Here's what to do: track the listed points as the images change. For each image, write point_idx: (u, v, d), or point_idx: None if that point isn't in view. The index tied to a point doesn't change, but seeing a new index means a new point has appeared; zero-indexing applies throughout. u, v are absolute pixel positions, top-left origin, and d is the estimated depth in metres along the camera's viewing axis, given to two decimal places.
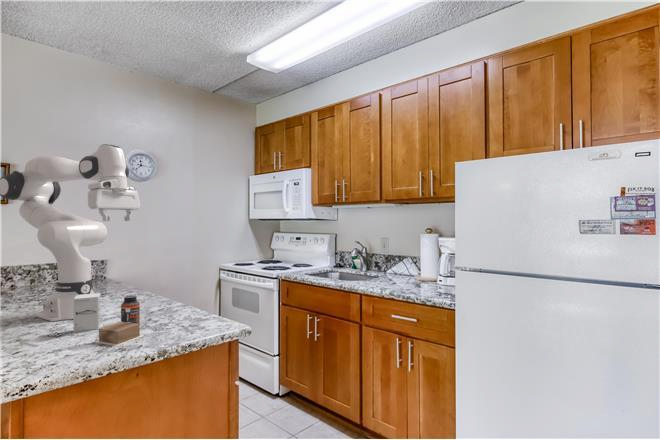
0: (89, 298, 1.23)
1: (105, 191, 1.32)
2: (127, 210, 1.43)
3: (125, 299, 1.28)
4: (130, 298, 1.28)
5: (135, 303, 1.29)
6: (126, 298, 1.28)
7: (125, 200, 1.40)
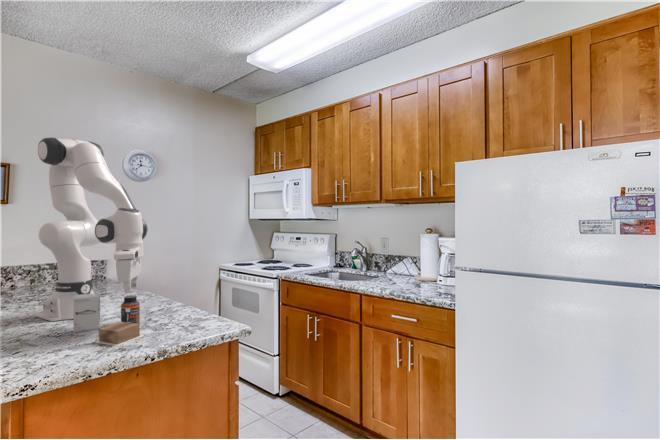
0: (89, 298, 1.23)
1: (133, 261, 1.25)
2: None
3: (125, 299, 1.28)
4: (130, 298, 1.28)
5: (135, 303, 1.29)
6: (126, 298, 1.28)
7: (137, 267, 1.33)
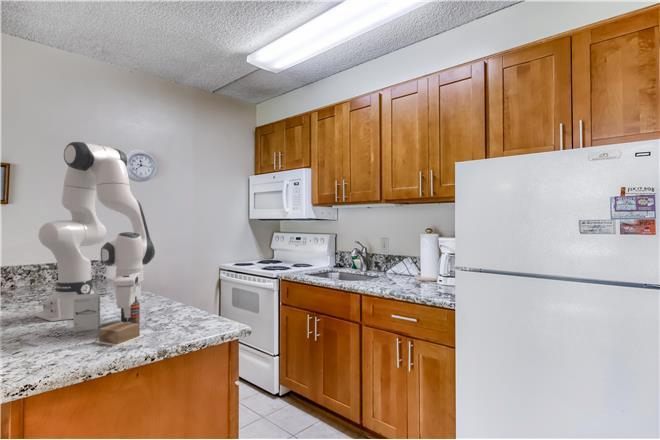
0: (89, 298, 1.23)
1: (133, 287, 1.25)
2: None
3: None
4: None
5: (135, 303, 1.29)
6: None
7: (137, 291, 1.33)
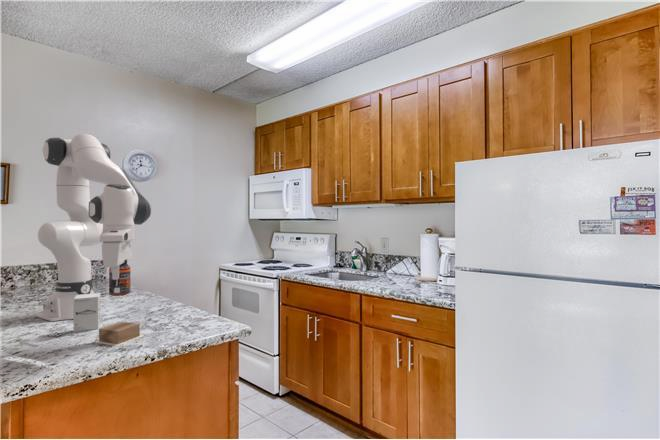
0: (89, 298, 1.23)
1: (122, 244, 1.09)
2: None
3: None
4: None
5: (125, 267, 1.13)
6: None
7: (127, 251, 1.18)
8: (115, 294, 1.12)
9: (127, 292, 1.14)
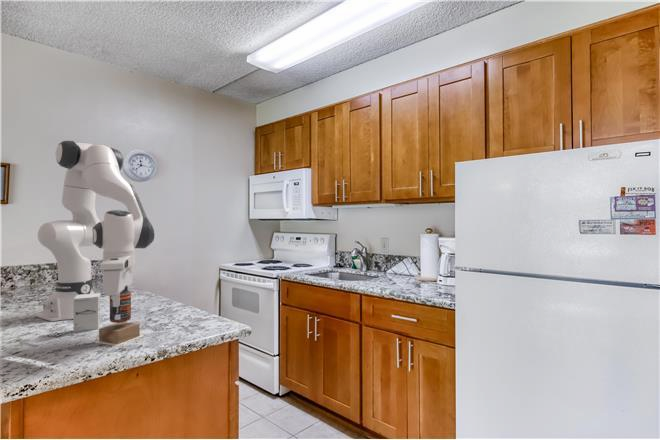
0: (89, 298, 1.23)
1: (123, 272, 1.09)
2: None
3: None
4: None
5: (126, 293, 1.14)
6: None
7: (128, 277, 1.18)
8: (116, 321, 1.12)
9: (128, 318, 1.14)
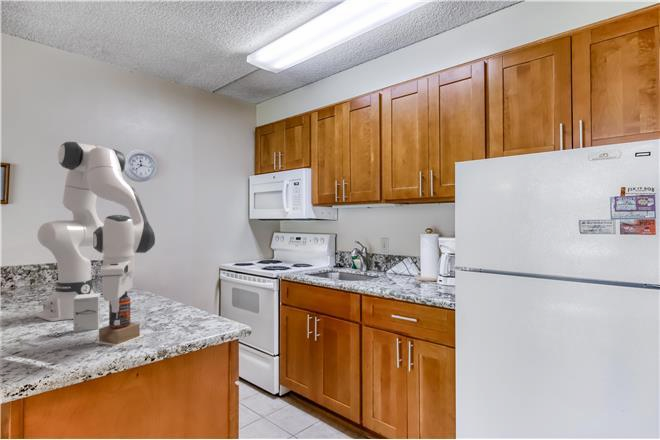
0: (89, 298, 1.23)
1: (122, 277, 1.09)
2: None
3: None
4: None
5: (125, 299, 1.14)
6: None
7: (127, 282, 1.18)
8: (115, 326, 1.12)
9: (127, 324, 1.14)
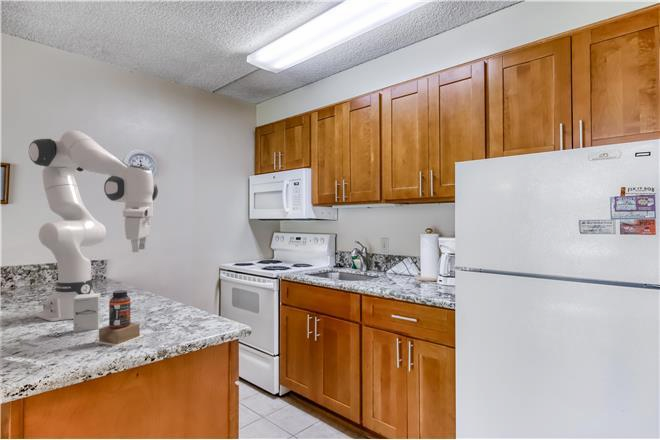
0: (89, 298, 1.23)
1: (143, 220, 1.20)
2: (141, 237, 1.30)
3: (114, 294, 1.13)
4: (120, 293, 1.13)
5: (125, 299, 1.14)
6: (115, 293, 1.13)
7: (146, 227, 1.29)
8: (115, 326, 1.12)
9: (127, 324, 1.14)
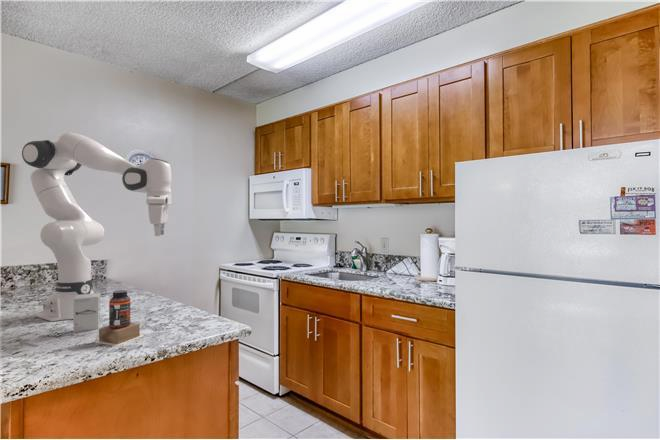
0: (89, 298, 1.23)
1: (163, 207, 1.34)
2: (161, 224, 1.44)
3: (114, 294, 1.13)
4: (120, 293, 1.13)
5: (125, 299, 1.14)
6: (115, 293, 1.13)
7: (165, 215, 1.42)
8: (115, 326, 1.12)
9: (127, 324, 1.14)
